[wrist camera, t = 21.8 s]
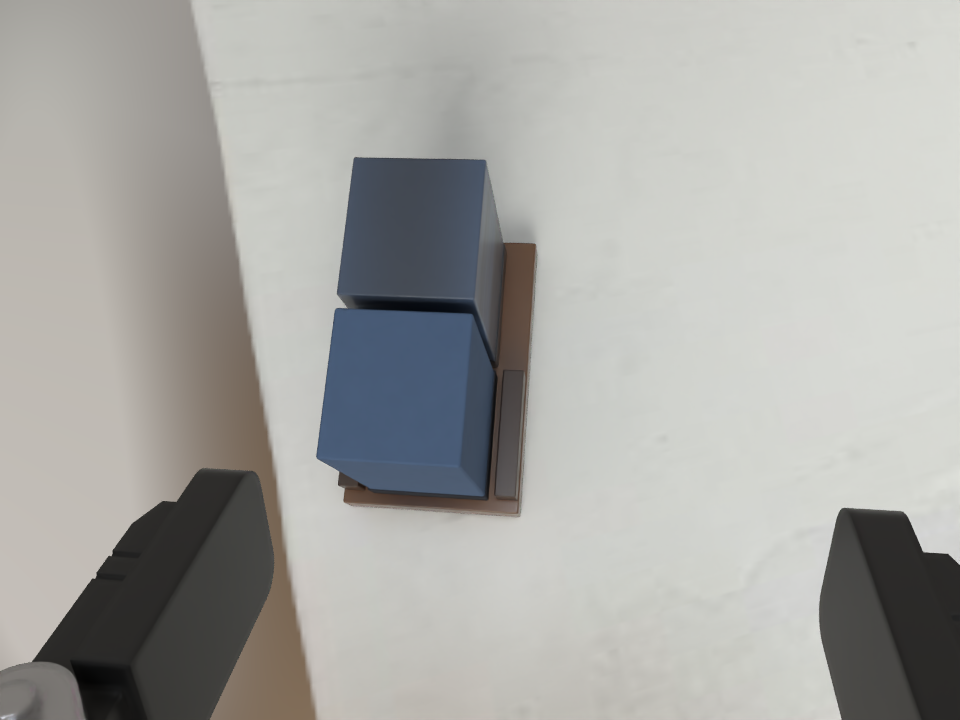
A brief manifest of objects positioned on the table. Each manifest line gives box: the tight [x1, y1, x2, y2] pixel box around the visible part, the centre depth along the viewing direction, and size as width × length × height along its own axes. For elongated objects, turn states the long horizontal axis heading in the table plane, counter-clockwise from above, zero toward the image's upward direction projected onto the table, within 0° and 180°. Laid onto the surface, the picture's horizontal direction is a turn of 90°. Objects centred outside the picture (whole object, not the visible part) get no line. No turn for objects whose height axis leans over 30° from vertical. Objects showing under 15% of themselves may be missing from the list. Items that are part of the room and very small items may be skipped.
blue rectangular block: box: [316, 308, 498, 501], centre depth 31 cm, size 4×5×8 cm
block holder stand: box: [337, 157, 537, 517], centre depth 32 cm, size 7×11×9 cm, turn 176°
